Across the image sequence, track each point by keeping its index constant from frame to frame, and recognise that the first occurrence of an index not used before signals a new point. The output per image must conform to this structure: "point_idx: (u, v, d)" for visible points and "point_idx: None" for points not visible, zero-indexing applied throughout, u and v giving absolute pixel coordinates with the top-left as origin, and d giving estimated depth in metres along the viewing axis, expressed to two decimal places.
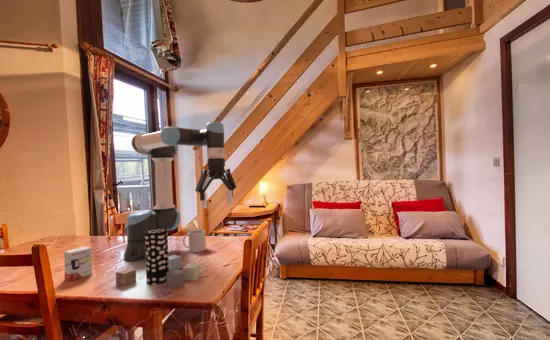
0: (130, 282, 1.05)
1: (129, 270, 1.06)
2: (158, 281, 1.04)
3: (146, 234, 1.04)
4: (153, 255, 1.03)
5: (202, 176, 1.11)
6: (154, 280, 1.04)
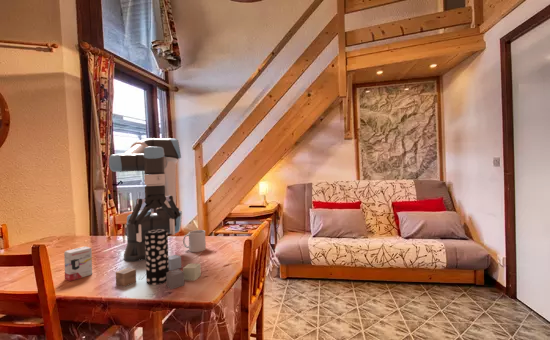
0: (130, 282, 1.05)
1: (129, 270, 1.06)
2: (158, 281, 1.04)
3: (146, 234, 1.04)
4: (153, 255, 1.03)
5: (136, 206, 1.02)
6: (154, 280, 1.04)
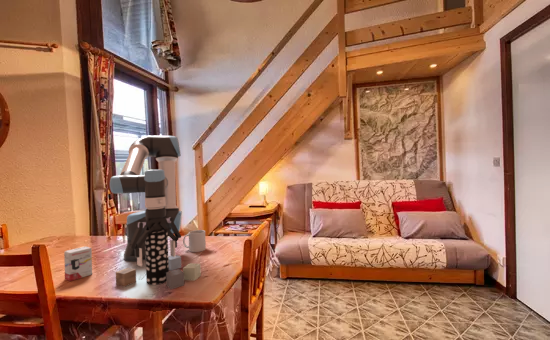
0: (130, 282, 1.05)
1: (129, 270, 1.06)
2: (158, 281, 1.04)
3: None
4: (153, 255, 1.03)
5: (137, 230, 1.02)
6: (154, 280, 1.04)
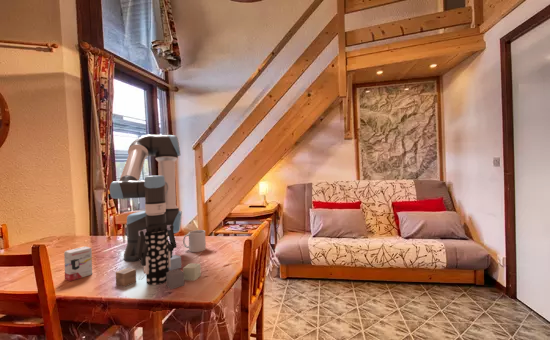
0: (130, 282, 1.05)
1: (129, 270, 1.06)
2: (158, 281, 1.04)
3: (146, 234, 1.04)
4: (153, 254, 1.03)
5: (139, 239, 1.02)
6: (154, 280, 1.04)
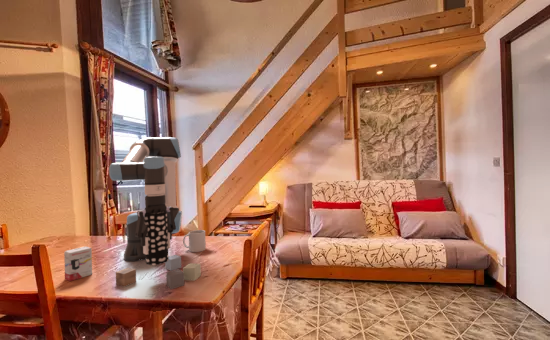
0: (130, 282, 1.05)
1: (129, 270, 1.06)
2: (158, 262, 1.04)
3: (145, 215, 1.04)
4: (153, 235, 1.04)
5: (139, 219, 1.02)
6: (154, 261, 1.04)
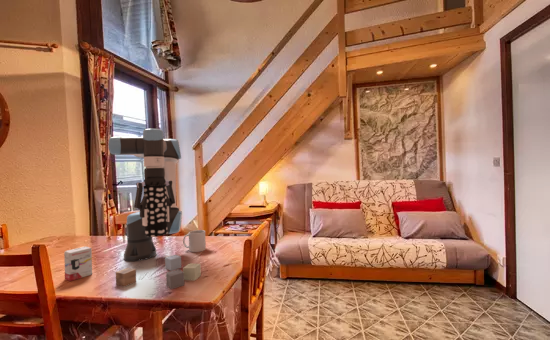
0: (130, 282, 1.05)
1: (129, 270, 1.06)
2: (157, 234, 1.04)
3: (144, 187, 1.04)
4: (152, 207, 1.03)
5: (138, 191, 1.02)
6: (153, 233, 1.04)
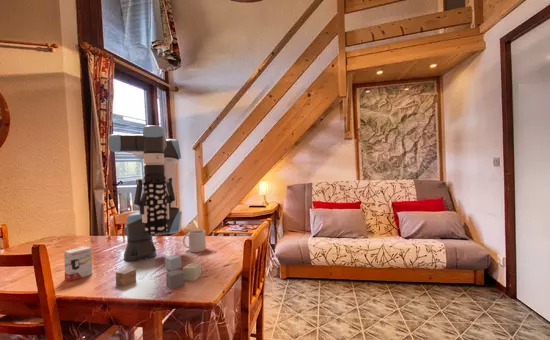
0: (130, 282, 1.05)
1: (129, 270, 1.06)
2: (157, 230, 1.04)
3: (144, 183, 1.04)
4: (152, 203, 1.03)
5: (137, 187, 1.02)
6: (153, 229, 1.03)
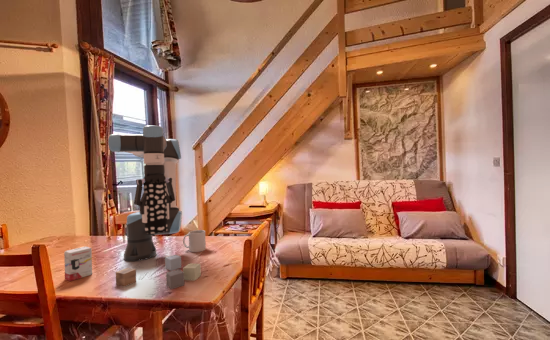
0: (130, 282, 1.05)
1: (129, 270, 1.06)
2: (157, 230, 1.04)
3: (144, 183, 1.04)
4: (152, 203, 1.03)
5: (137, 187, 1.02)
6: (153, 229, 1.03)
